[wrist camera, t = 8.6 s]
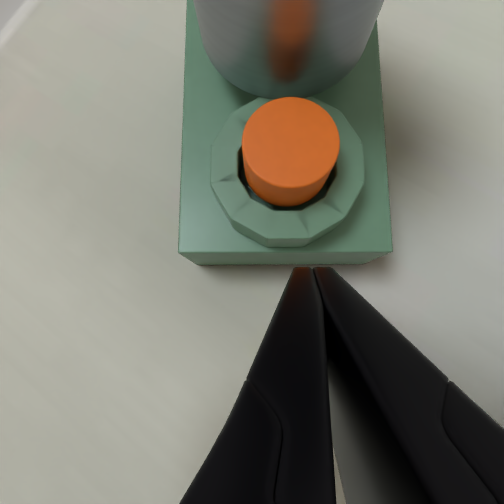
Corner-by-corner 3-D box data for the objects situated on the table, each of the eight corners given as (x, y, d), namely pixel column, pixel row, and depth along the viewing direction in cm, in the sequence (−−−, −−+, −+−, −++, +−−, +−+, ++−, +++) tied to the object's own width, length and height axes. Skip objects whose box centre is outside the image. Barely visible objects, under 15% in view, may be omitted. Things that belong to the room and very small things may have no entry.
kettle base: (363, 264, 20) (413, 244, 13) (196, 264, 20) (165, 245, 14) (352, 53, 22) (390, -51, 16) (201, 56, 22) (177, -45, 16)
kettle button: (329, 206, 14) (342, 187, 12) (244, 207, 14) (241, 188, 12) (326, 128, 15) (338, 95, 12) (244, 129, 15) (241, 96, 12)
